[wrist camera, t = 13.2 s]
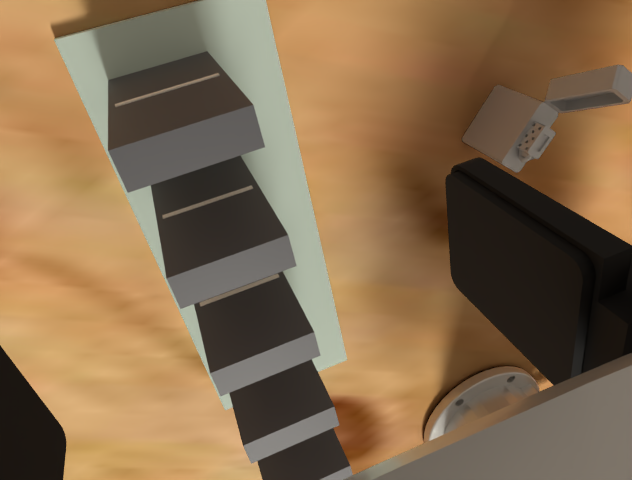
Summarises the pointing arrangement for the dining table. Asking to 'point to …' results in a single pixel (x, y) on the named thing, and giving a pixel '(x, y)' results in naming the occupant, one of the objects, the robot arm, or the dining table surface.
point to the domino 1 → (177, 120)
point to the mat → (264, 164)
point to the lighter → (541, 113)
